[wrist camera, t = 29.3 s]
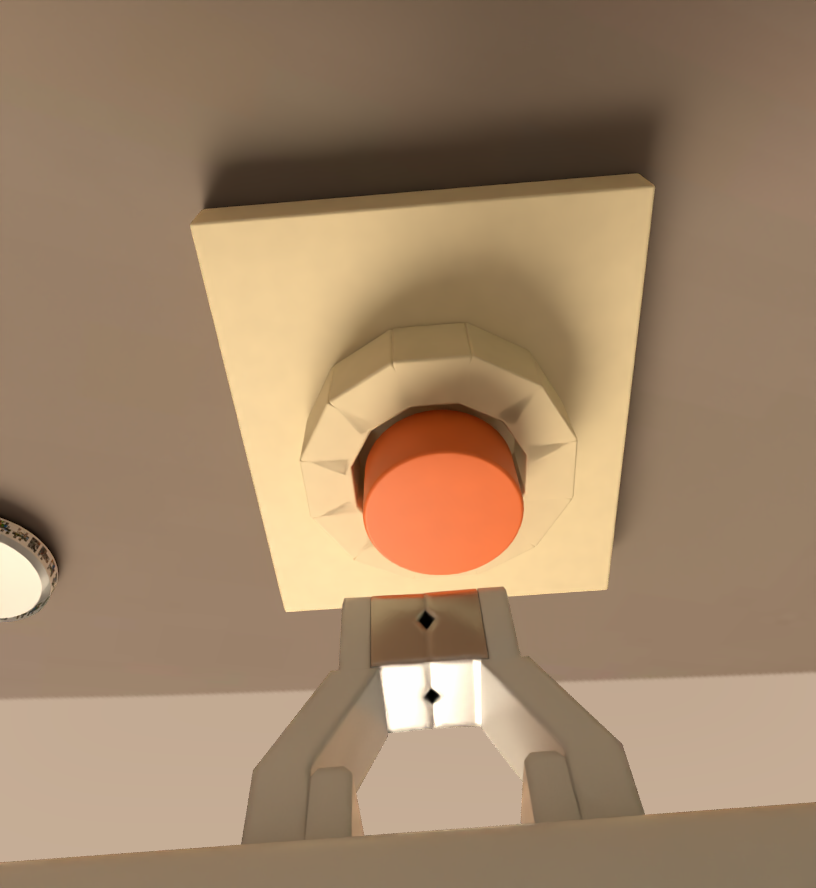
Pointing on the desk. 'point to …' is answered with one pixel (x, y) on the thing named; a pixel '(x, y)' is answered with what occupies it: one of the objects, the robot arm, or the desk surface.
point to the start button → (441, 493)
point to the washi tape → (24, 573)
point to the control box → (432, 363)
